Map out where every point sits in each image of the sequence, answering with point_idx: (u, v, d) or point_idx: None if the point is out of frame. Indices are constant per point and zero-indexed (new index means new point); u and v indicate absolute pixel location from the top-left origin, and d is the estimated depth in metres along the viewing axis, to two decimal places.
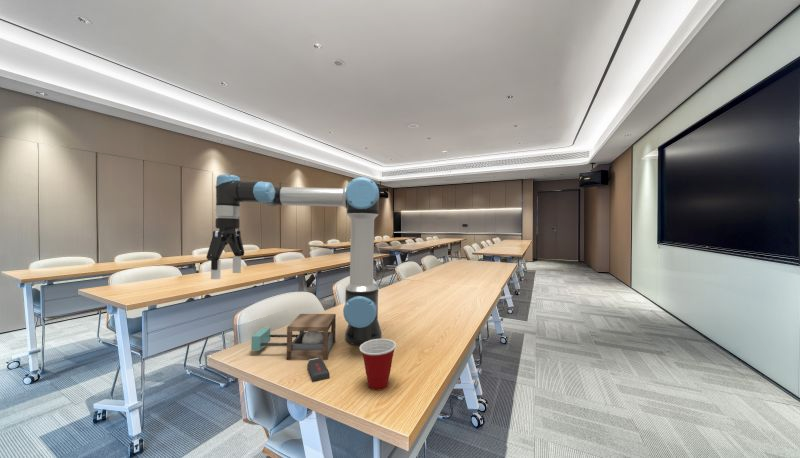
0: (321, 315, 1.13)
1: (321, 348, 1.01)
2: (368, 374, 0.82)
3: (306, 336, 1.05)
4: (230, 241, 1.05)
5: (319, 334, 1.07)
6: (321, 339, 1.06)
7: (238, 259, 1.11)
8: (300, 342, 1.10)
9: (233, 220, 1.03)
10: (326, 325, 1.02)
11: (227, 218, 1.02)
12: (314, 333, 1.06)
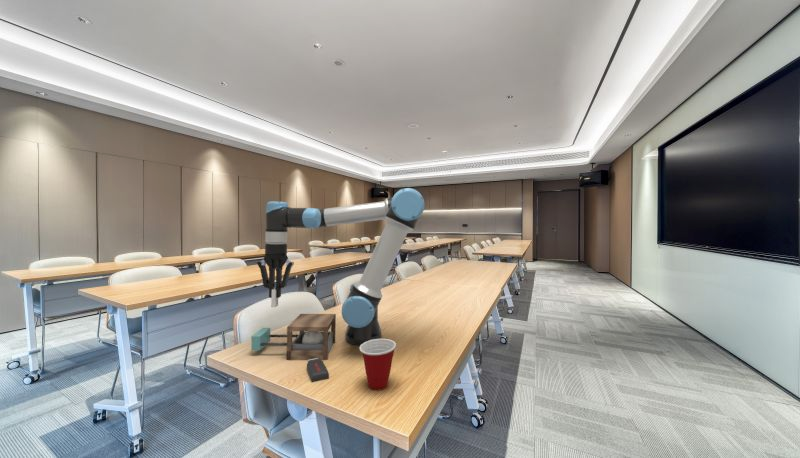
0: (321, 315, 1.13)
1: (321, 348, 1.01)
2: (368, 374, 0.82)
3: (306, 336, 1.05)
4: (274, 266, 1.06)
5: (319, 334, 1.07)
6: (321, 339, 1.06)
7: None
8: (300, 342, 1.10)
9: (267, 246, 1.04)
10: (326, 325, 1.02)
11: (266, 244, 1.05)
12: (314, 333, 1.06)
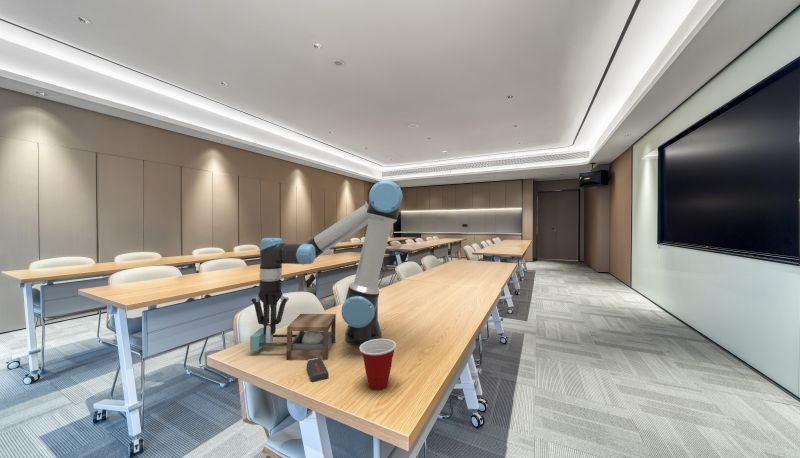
0: (321, 315, 1.13)
1: (320, 348, 1.01)
2: (368, 374, 0.82)
3: (306, 336, 1.05)
4: (269, 303, 1.06)
5: (319, 334, 1.07)
6: (321, 339, 1.06)
7: None
8: (299, 342, 1.10)
9: (261, 283, 1.04)
10: (326, 325, 1.02)
11: (260, 280, 1.05)
12: (314, 333, 1.06)
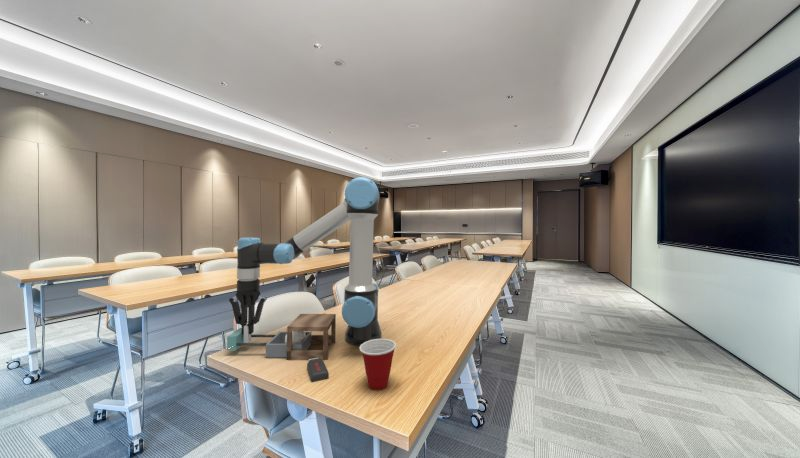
0: (321, 315, 1.13)
1: (297, 348, 1.01)
2: (368, 374, 0.82)
3: None
4: (246, 303, 1.05)
5: (300, 333, 1.07)
6: (301, 339, 1.06)
7: None
8: (278, 342, 1.10)
9: (238, 283, 1.03)
10: (326, 325, 1.02)
11: None
12: (294, 332, 1.07)
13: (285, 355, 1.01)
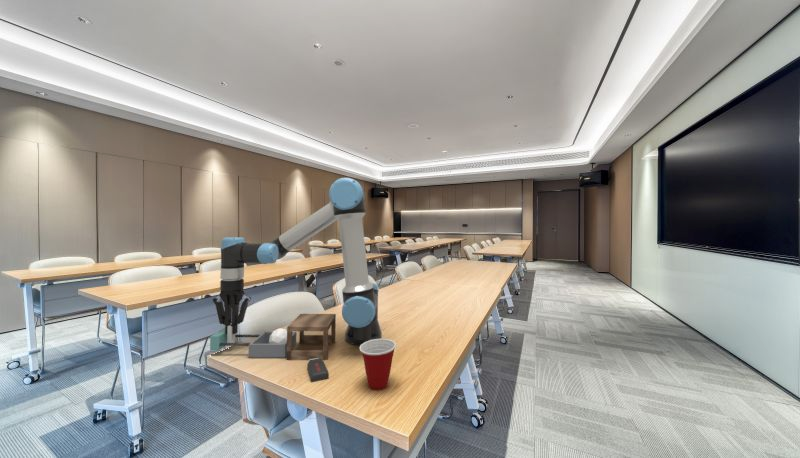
0: (321, 315, 1.13)
1: (280, 348, 1.01)
2: (368, 374, 0.82)
3: (272, 334, 1.07)
4: (230, 303, 1.05)
5: (284, 333, 1.07)
6: (285, 339, 1.06)
7: None
8: (262, 342, 1.10)
9: (221, 283, 1.03)
10: (326, 325, 1.02)
11: (221, 280, 1.04)
12: (279, 331, 1.07)
13: (268, 355, 1.01)
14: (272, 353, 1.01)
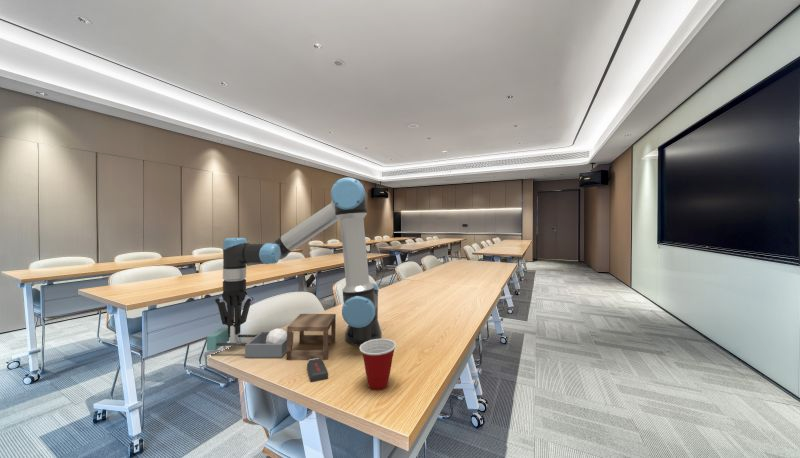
0: (321, 315, 1.13)
1: (277, 348, 1.01)
2: (368, 374, 0.82)
3: (268, 334, 1.07)
4: (233, 303, 1.05)
5: (281, 334, 1.07)
6: (282, 339, 1.06)
7: None
8: (259, 342, 1.10)
9: (224, 283, 1.03)
10: (326, 325, 1.02)
11: None
12: (275, 332, 1.07)
13: (265, 355, 1.01)
14: (268, 353, 1.01)
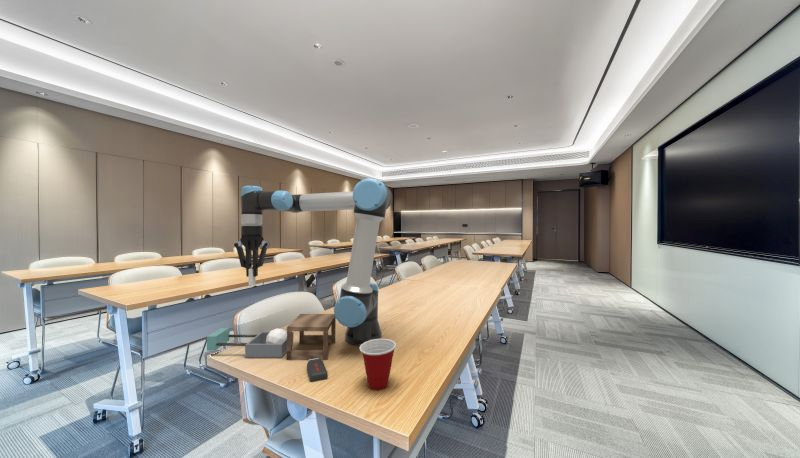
0: (321, 315, 1.13)
1: (277, 348, 1.01)
2: (368, 374, 0.82)
3: (268, 334, 1.07)
4: (251, 247, 1.12)
5: (281, 334, 1.07)
6: (282, 339, 1.06)
7: None
8: (259, 342, 1.10)
9: (242, 227, 1.10)
10: (326, 325, 1.02)
11: (242, 226, 1.12)
12: (275, 332, 1.07)
13: (265, 355, 1.01)
14: (268, 353, 1.01)
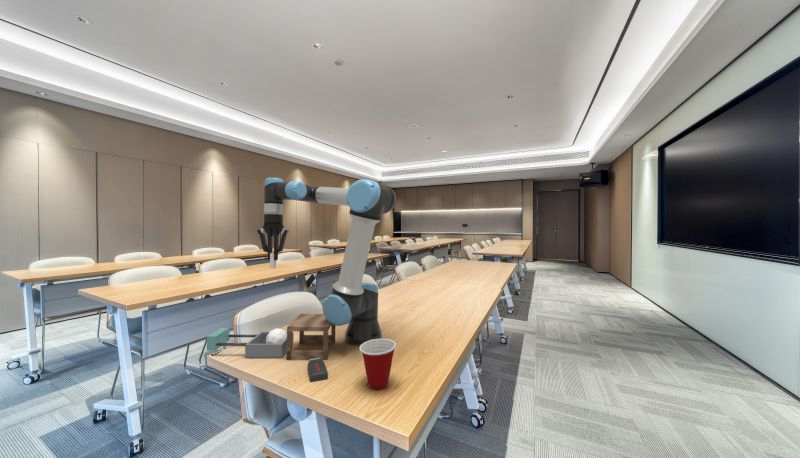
0: (321, 315, 1.13)
1: (277, 348, 1.01)
2: (368, 374, 0.82)
3: (268, 334, 1.07)
4: (272, 233, 1.24)
5: (281, 334, 1.07)
6: (282, 339, 1.06)
7: None
8: (259, 342, 1.10)
9: (265, 215, 1.21)
10: (326, 325, 1.02)
11: None
12: (275, 332, 1.07)
13: (265, 355, 1.01)
14: (268, 353, 1.01)
